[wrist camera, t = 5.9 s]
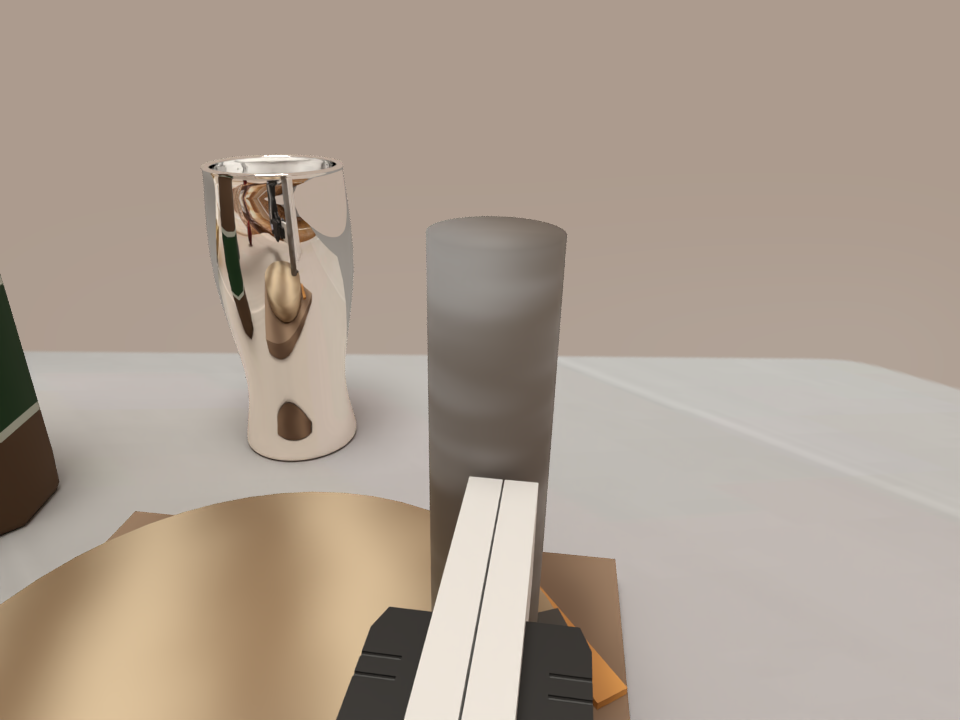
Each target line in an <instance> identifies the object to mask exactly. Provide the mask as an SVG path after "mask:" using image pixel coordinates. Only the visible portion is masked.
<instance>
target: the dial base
mask: <svg viewBox="0 0 960 720" xmlns="http://www.w3.org/2000/svg"><path fill="white" fill-rule="evenodd" d="M171 516H174V515H167V514H157V513H147V512H137V511H135V512H134V513H133V514H132V515H131V516H130V517H129V519H128V520H127V521H126V522H125V523H124V524H123V525H122V526H121V527H120V528H119V529H118V530H117V531H116V532H115V533H114V534H113V535H112V536H111V537H110V538H109V539H108V540H107V541H109V540H112V539H114V538H116V537H119V536H121V535H123V534H126V533H128V532H131V531H133V530H136V529H138V528H140V527H143V526H145V525H148V524H150V523H153V522H156V521H159V520H162V519H165V518H168V517H171ZM107 541H106V542H107ZM540 589H541V591H542V592H543V593H544V594H545V595H546V597H547V599H548V600H549V602H550V603H551V605H552V606H553V608H554V609H555V608H558V609H559V611H560V612H561V614H562V616H563V618H564V620H565V622H566V623H567V625H568V626H571V627H579V628H580V629H581V631H582V633H583V635H584V637H585V639H586V641H587V643H588V645H589V647H590V649H591V651H592V678H593V679H592V684H593V720H630V715H629V704H628V693H627V682H626V671H625V661H624V650H623V639H622V628H621V617H620V606H619V595H618V584H617V574H616V563H615V559H608V558H598V557H588V556H578V555H568V554H558V553H548V552H543V554H542V567H541V580H540Z"/></svg>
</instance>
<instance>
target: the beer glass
mask: <svg viewBox="0 0 960 720" xmlns="http://www.w3.org/2000/svg"><path fill="white" fill-rule="evenodd" d="M201 170H202V176H203V186H204V204H205V217H206V229H207V237H208V245H209V253H210V258H211V264H212V269H213V274H214V279H215V283H216V286H217V290H218V293H219V297H220V300H221V304H222V307H223V310H224V313H225V315H226V318H227V321H228V324H229V327H230V330H231V333H232V335H233V338H234V341H235V343H236V346H237V349H238V352H239V355H240V358H241V361H242V364H243V367H244V371H245V375H246V377H245V378H246V380H247V384H248V394H249V414H248V427H247V439H248V443H249V445H250V447H251V448H252V449H253V450H254V451H255V452H257V453H259V454H260V455H262V456H265V457H267V458H271V459H275V460H283V461H300V460H308V459H314V458H318V457H322V456H325V455H328V454H330V453H332V452H335V451H337V450H338V449H340V448H342V447H343V446H345V445H346V444H347V443H348V442H349V441H350V440H351V439H352V438H353V436H354V435H355V432H356V427H357V425H356V419H355V415H354V412H353V409H352V405H351V402H350V399H349V395H348V390H347V385H346V376H345V356H346V346H347V337H348V328H349V320H350V310H351V302H352V290H353V273H354V266H353V242H352V233H351V232H352V231H351V221H350V214H349V207H348V200H347V193H346V187H345V181H344V175H343V174H344V173H343V163H342V162H341V161H339V160H337V159H333V158H328V157H321V156H310V155H253V156H240V157H231V158H224V159H218V160H213V161H210V162H207V163H204V164H203V165H202V166H201Z"/></svg>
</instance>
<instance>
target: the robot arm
mask: <svg viewBox="0 0 960 720" xmlns="http://www.w3.org/2000/svg"><path fill="white" fill-rule="evenodd" d="M502 486H503V479H492V478H481V477H471V476H469V480H468V483H467V487H466V491H465V495H464V498H463V502H462V506H461V509H460V513H459V517H458V521H457V524H456V528H455V532H454V535H453V539H452V543H451V547H450V550H449V554H448V558H447V562H446V565H445V569H444V573H443V576H442V580H441V584H440V588H439V591H438V595H437V599H436V602H435V606H434V610H433V612H431V611H422V610H414V609H406V608H397V607H388V608H387V610H386V611H385V612H384V613H383V614H382V615H381V616H380V617H379V618H378V619H377V620H376V621H375V622H374V623H373V625H372V626H371V627H370V630H369V633H368V635H367V638H366V641H365V643H364V646H363V649H362V653H361V656H360V657H359V659H358V662H357V665H356V667H355V670H354V675H353V676H352V678H351V681H350V684H349V686H348V689H347V692H346V694H345V697H344V700H343V702H342V705H341V708H340V710H339V713H338V716H337V718H336V720H593V684H592V679H593V678H592V651H591V649H590V647H589V645H588V643H587V641H586V639H585V637H584V635H583V633H582V631H581V629H580V628H579V627H571V626H563V625H554V624H546V623H537V622H529V621H528V620H529V609H530V598H531V588H532V576H533V561H534V545H535V530H536V514H537V499H538V483H535V482H524V481H514V480H505V481H504V487H503V492H502Z"/></svg>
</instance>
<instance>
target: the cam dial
mask: <svg viewBox="0 0 960 720" xmlns="http://www.w3.org/2000/svg"><path fill="white" fill-rule="evenodd" d="M566 241H567V234H566V232H565V231H564V230H563V229H561V228H559V227H557V226H555V225H552V224H549V223H545V222H541V221H536V220H531V219H524V218H514V217H497V216H496V217H495V216H486V217H485V216H481V217H465V218H456V219H450V220H445V221H441V222H438V223H435V224H433V225H431V226H429V227H428V228H427V230H426V260H427V261H426V262H427V333H428V334H427V335H428V406H429V478H430V511H429V510H426V509H422V508H419V507H416V506H413V505H409V504H406V503H403V502H399V501H394V500H389V499H384V498H379V497H374V496H366V495H357V494H349V493H331V492H300V493H280V494H272V495H264V496H256V497H248V498H243V499H238V500H233V501H227V502H222V503H217V504H213V505H209V506H206V507H202V508H198V509H194V510H191V511H187V512H183V513H180V514H177V515H174V516H171V517H168V518H165V519H162V520H159V521H156V522H153V523H150V524H148V525H145V526H143V527H140V528H138V529H136V530H133V531H131V532H128V533H126V534H123V535H121V536H119V537H116V538H114V539H112V540H109V541H107V542H105V543H103V544H101V545H99V546H97V547H95V548H93V549H91V550H89V551H87V552H85V553H83V554H81V555H79V556H77V557H75V558H74V559H72V560H70V561H68V562H67V563H65V564H63V565H61V566H60V567H58V568H56V569H55V570H53V571H51V572H49V573H48V574H46V575H44V576H43V577H41V578H39V579H38V580H36V581H35V582H33V583H32V584H30V585H29V586H27V587H26V588H24V589H23V590H21V591H20V592H18V593H17V594H15V595H14V596H12V597H11V598H9V599H8V600H6V601H5V602H4V603H2V604H1V605H0V720H336V718H337V716H338V713H339V710H340V708H341V705H342V702H343V700H344V697H345V694H346V692H347V689H348V686H349V684H350V681H351V678H352V676H353V675H354V670H355V667H356V665H357V662H358V659H359V657H360V656H361V653H362V649H363V646H364V643H365V641H366V638H367V635H368V633H369V630H370V627H371V626H372V625H373V623H374V622H375V621H376V620H377V619H378V618H379V617H380V616H381V615H382V614H383V613H384V612H385V611H386V610H387V608H388V607H397V608H406V609H414V610H422V611H431V612H433V610H434V606H435V602H436V599H437V595H438V591H439V588H440V584H441V580H442V576H443V573H444V569H445V565H446V562H447V558H448V554H449V550H450V547H451V543H452V539H453V535H454V532H455V528H456V524H457V521H458V517H459V513H460V509H461V506H462V502H463V498H464V495H465V491H466V487H467V483H468V480H469V476H471V477H481V478H492V479H503V486H502V492H503V487H504V481H505V480H514V481H524V482H535V483H538V499H537V514H536V530H535V545H534V561H533V576H532V588H531V598H530V609H529V620H528V621H529V622H537V623H546V624H554V625H563V626H568V625H567V623H566V622H565V620H564V618H563V616H562V614H561V612H560V611H559V609H558V608H555V609H554V608H553V606H552V605H551V603H550V602H549V600H548V599H547V597H546V595H545V594H544V593H543V592H542V591H541V589H540V580H541V567H542V554H543V541H544V528H545V515H546V502H547V489H548V476H549V463H550V450H551V436H552V423H553V410H554V397H555V384H556V371H557V358H558V344H559V332H560V318H561V305H562V292H563V280H564V267H565V254H566Z"/></svg>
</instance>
